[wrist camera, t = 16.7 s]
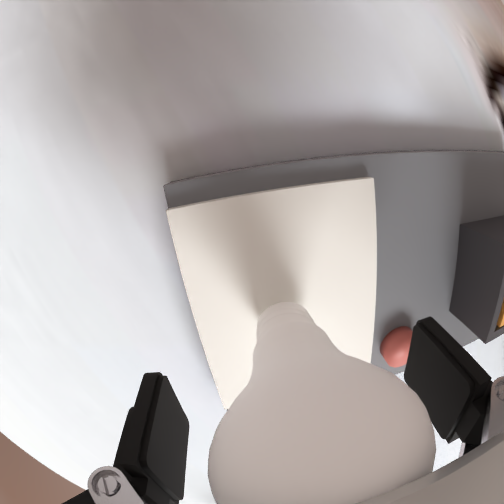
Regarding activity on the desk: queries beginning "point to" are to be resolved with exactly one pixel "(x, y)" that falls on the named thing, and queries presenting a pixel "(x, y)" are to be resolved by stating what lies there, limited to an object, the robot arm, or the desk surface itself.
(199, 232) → the board
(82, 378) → the desk surface
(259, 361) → the lightbulb
